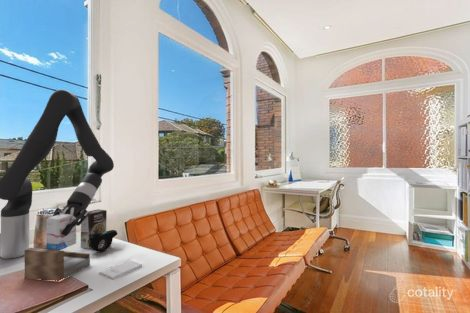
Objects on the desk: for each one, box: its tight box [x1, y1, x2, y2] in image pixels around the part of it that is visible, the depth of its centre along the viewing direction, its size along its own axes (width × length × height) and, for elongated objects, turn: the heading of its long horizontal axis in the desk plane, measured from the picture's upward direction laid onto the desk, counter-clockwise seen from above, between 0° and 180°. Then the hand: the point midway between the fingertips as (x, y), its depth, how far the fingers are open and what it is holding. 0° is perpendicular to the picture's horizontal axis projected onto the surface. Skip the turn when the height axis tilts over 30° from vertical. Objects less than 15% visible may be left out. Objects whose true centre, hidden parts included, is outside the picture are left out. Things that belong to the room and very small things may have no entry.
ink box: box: [45, 214, 77, 251], centre depth 95 cm, size 9×5×12 cm, turn 168°
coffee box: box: [80, 208, 108, 250], centre depth 121 cm, size 9×6×16 cm
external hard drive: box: [98, 259, 143, 281], centre depth 96 cm, size 2×8×12 cm
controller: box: [89, 229, 118, 253], centre depth 114 cm, size 4×12×10 cm, turn 149°
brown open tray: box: [24, 247, 91, 281], centre depth 94 cm, size 14×14×10 cm
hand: (57, 234), depth 93 cm, fingers closed on ink box, 5 cm apart
